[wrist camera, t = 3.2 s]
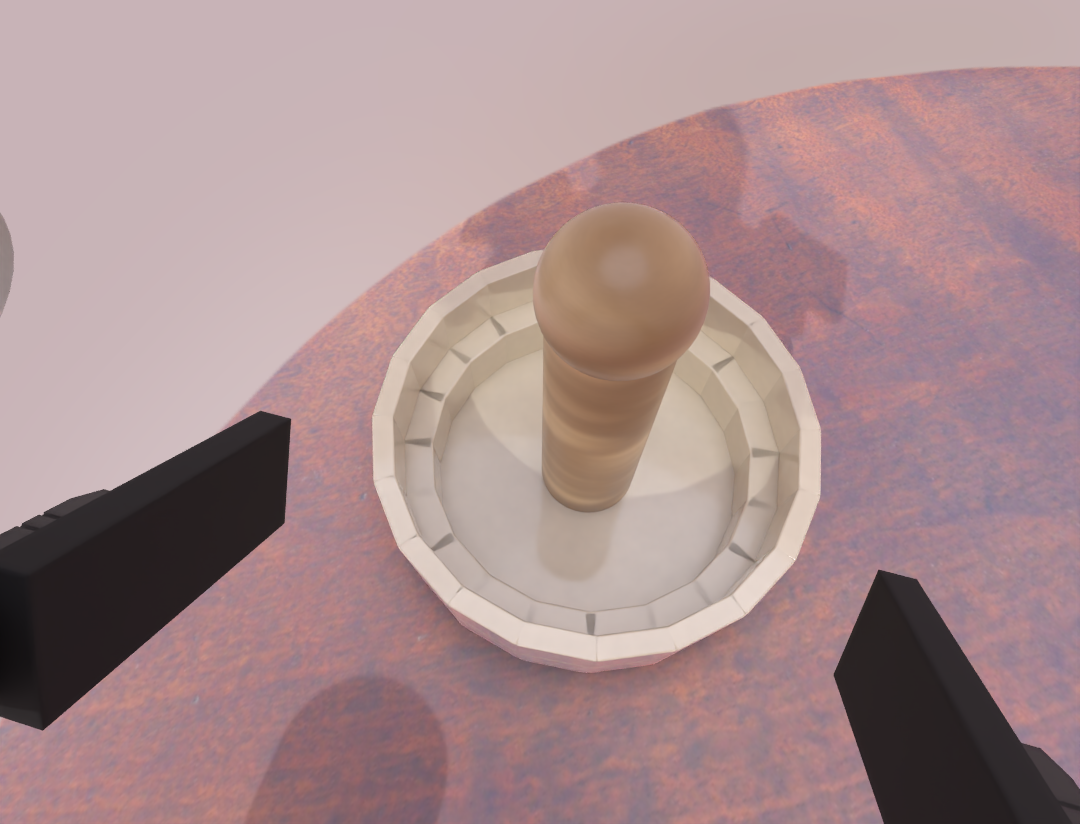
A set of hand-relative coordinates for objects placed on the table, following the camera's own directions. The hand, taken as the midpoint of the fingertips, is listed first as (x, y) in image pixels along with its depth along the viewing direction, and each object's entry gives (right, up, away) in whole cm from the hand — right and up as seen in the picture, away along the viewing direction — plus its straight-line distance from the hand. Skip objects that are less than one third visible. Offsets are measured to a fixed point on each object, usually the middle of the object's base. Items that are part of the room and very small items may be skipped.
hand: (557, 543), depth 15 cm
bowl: (+2, 0, +15) cm, 15 cm away
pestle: (+2, 0, +15) cm, 15 cm away
